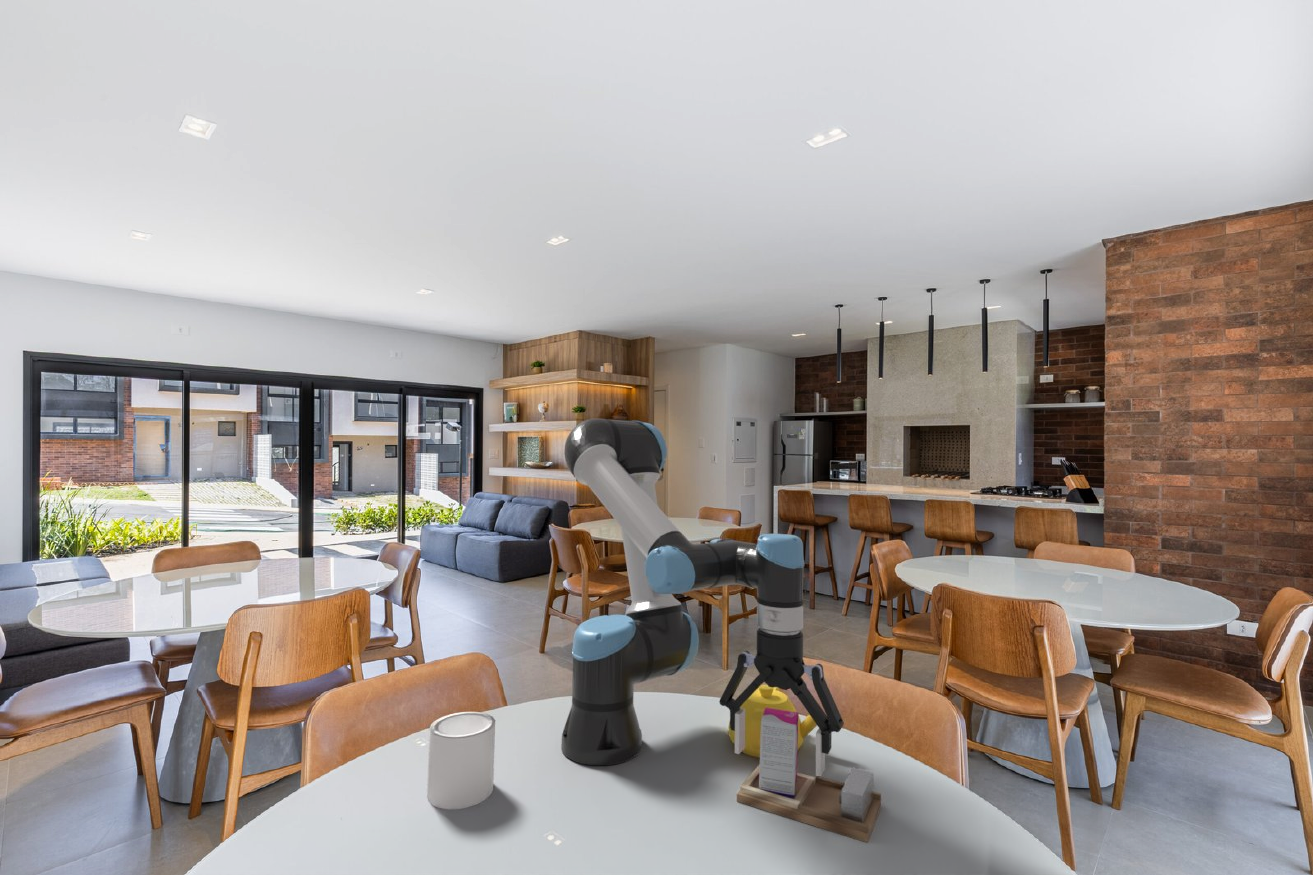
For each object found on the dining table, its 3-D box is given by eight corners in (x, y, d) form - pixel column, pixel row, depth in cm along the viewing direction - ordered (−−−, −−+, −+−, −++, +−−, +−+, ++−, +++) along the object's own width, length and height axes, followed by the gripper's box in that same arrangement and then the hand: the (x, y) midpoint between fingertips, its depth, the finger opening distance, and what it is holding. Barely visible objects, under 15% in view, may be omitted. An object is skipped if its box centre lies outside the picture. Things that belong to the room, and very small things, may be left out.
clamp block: (837, 816, 90) (837, 789, 90) (849, 792, 97) (849, 766, 97) (862, 824, 88) (862, 796, 88) (872, 798, 95) (872, 772, 95)
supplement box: (795, 799, 95) (796, 725, 96) (757, 793, 97) (758, 719, 97) (798, 781, 101) (798, 711, 101) (762, 775, 102) (763, 706, 103)
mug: (427, 771, 104) (429, 708, 105) (488, 762, 108) (490, 701, 108) (426, 814, 91) (429, 742, 92) (496, 802, 95) (498, 733, 95)
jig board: (736, 801, 96) (736, 788, 97) (761, 772, 106) (761, 760, 106) (867, 842, 86) (867, 828, 87) (881, 805, 96) (881, 792, 96)
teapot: (820, 781, 103) (821, 715, 104) (716, 761, 110) (717, 699, 110) (829, 733, 122) (829, 678, 123) (740, 718, 128) (740, 666, 129)
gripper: (701, 623, 103) (699, 751, 102) (852, 647, 90) (852, 793, 89) (719, 614, 109) (718, 734, 108) (862, 635, 97) (862, 771, 96)
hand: (778, 761), depth 99 cm, fingers open, 13 cm apart
